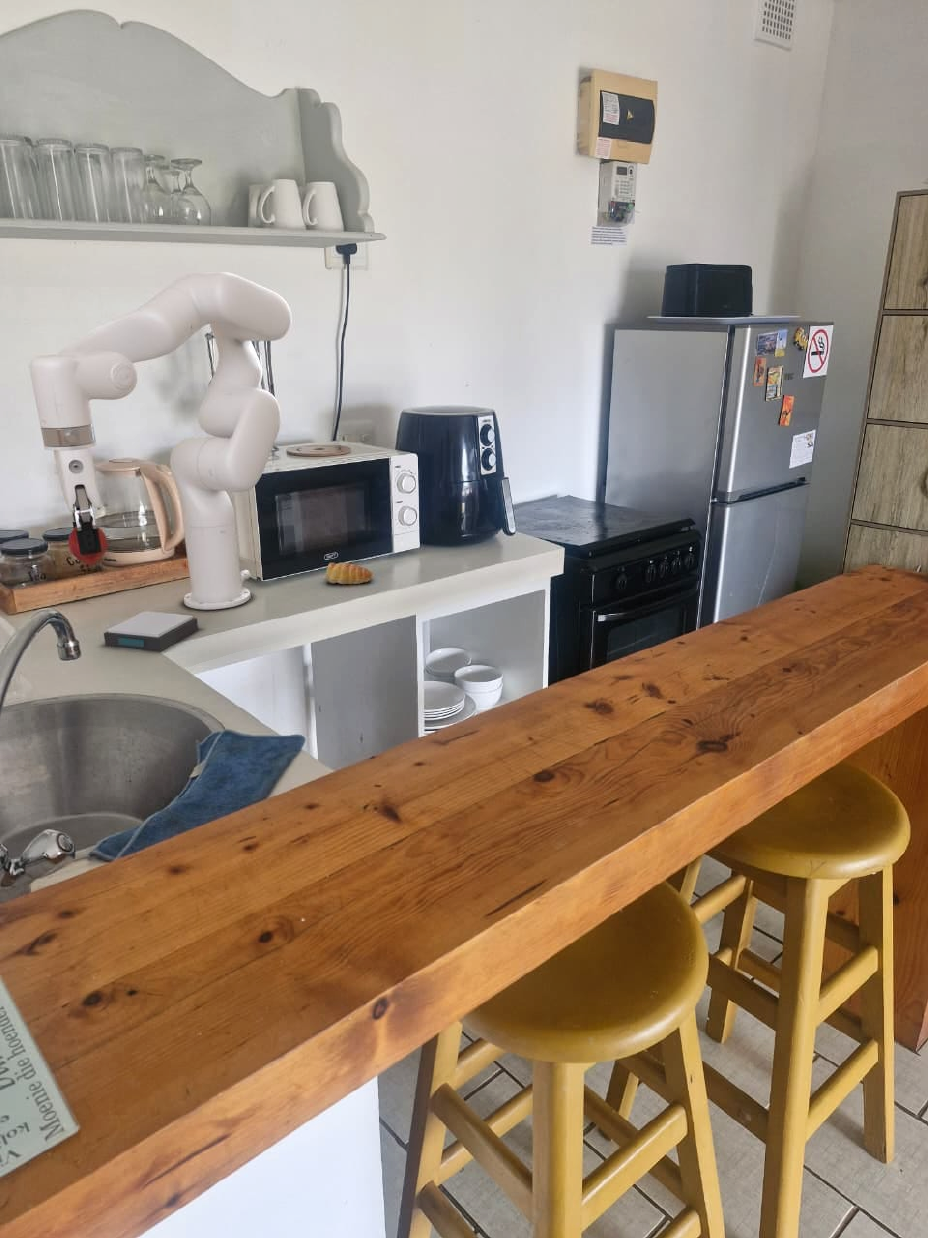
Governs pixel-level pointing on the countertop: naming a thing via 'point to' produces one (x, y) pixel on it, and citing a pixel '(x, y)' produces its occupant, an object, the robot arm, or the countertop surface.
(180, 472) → the robot arm
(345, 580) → the pastry
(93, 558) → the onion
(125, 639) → the scale
